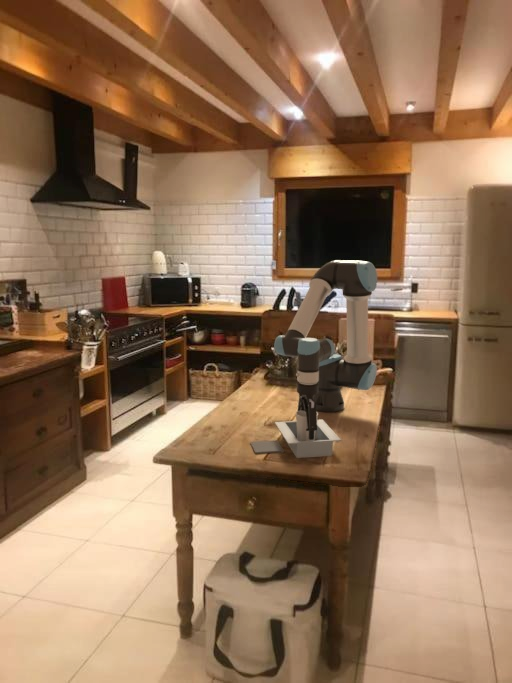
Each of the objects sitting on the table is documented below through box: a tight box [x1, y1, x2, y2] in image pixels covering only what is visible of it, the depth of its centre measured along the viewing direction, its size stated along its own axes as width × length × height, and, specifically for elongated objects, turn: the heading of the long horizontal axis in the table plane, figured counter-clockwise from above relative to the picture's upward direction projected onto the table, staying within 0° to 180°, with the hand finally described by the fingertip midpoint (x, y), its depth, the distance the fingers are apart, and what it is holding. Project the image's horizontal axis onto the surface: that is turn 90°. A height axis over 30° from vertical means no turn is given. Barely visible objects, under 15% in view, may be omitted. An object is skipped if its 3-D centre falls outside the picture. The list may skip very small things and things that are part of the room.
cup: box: [295, 410, 319, 442], centre depth 199 cm, size 8×8×12 cm
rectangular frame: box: [274, 419, 342, 459], centre depth 200 cm, size 19×22×6 cm
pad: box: [250, 439, 284, 455], centre depth 198 cm, size 10×10×1 cm
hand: (306, 441), depth 200 cm, fingers open, 10 cm apart
